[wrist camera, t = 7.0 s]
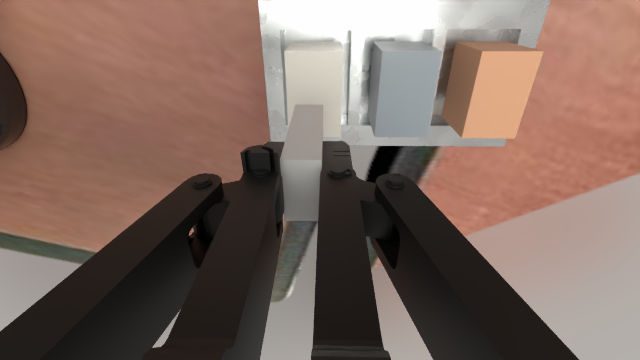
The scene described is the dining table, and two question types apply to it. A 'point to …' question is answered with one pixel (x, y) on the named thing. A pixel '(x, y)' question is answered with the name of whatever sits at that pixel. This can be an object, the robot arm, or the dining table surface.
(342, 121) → the grey tray
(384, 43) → the slate key
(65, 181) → the dining table surface
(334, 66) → the cream block
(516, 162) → the dining table surface
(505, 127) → the orange block
